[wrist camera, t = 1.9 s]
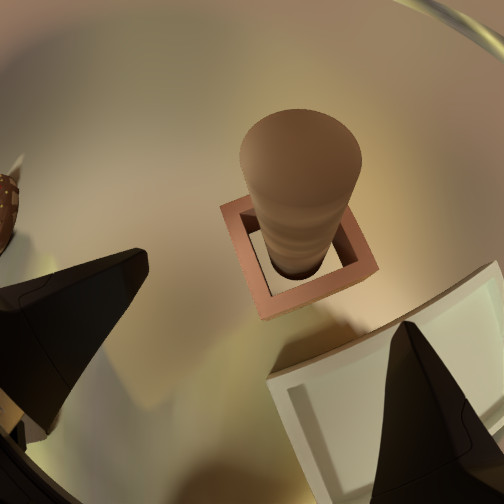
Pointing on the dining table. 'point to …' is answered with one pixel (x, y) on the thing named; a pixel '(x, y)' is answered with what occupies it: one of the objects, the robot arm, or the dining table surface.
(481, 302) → the tray
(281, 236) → the dowel
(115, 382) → the dining table surface
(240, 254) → the square frame
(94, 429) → the dining table surface
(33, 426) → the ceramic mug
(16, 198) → the donut
